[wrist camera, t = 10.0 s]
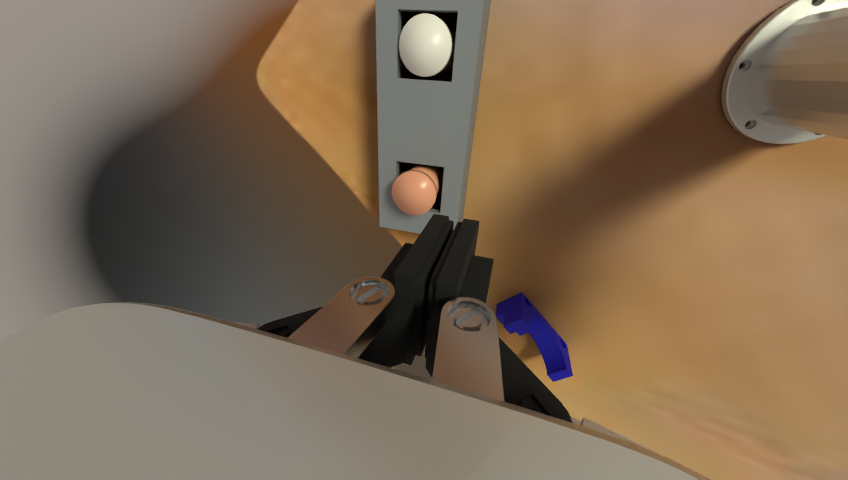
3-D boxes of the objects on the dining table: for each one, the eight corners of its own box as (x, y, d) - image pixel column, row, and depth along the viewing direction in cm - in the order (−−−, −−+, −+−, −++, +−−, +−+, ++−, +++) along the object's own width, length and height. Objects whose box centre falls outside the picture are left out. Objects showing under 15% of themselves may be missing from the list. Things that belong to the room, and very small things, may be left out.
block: (493, -18, 30) (488, -38, 25) (462, 220, 43) (455, 239, 38) (396, -19, 32) (374, -37, 27) (394, 209, 45) (379, 226, 40)
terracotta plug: (447, 161, 37) (436, 175, 32) (443, 199, 40) (433, 218, 34) (408, 156, 38) (391, 169, 33) (407, 194, 40) (391, 211, 35)
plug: (463, 23, 32) (453, 14, 27) (458, 77, 34) (448, 78, 29) (417, 22, 33) (399, 12, 28) (415, 74, 35) (398, 74, 30)
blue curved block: (497, 303, 48) (494, 330, 43) (521, 291, 46) (522, 318, 41) (541, 353, 50) (544, 384, 45) (566, 343, 48) (572, 375, 43)
